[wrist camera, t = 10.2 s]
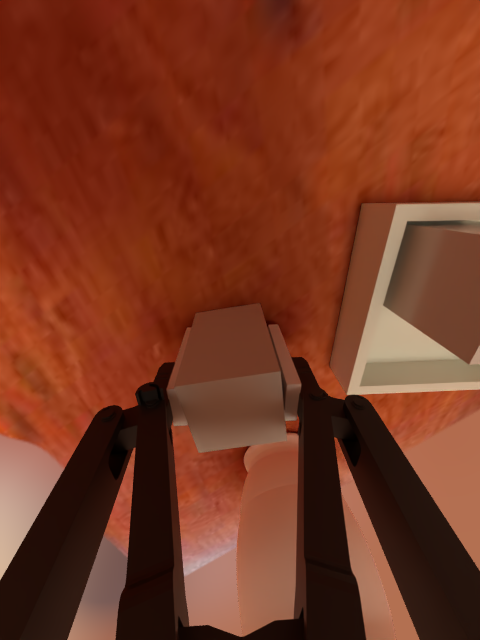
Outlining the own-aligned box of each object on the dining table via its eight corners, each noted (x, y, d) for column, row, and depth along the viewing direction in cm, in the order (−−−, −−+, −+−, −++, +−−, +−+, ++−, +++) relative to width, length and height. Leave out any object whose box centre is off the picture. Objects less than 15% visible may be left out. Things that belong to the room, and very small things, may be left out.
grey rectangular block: (195, 312, 18) (173, 386, 11) (260, 302, 18) (280, 371, 11) (209, 364, 20) (199, 452, 13) (266, 355, 20) (287, 440, 13)
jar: (334, 420, 24) (462, 689, 11) (321, 478, 29) (399, 714, 16) (232, 426, 24) (236, 708, 11) (236, 483, 29) (242, 728, 15)
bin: (361, 203, 15) (396, 204, 12) (556, 199, 15) (640, 200, 12) (329, 365, 21) (346, 394, 18) (470, 360, 21) (511, 388, 18)
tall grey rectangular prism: (387, 221, 15) (535, 241, 8) (464, 220, 15) (679, 238, 8) (368, 295, 17) (469, 364, 10) (435, 293, 17) (581, 360, 10)
